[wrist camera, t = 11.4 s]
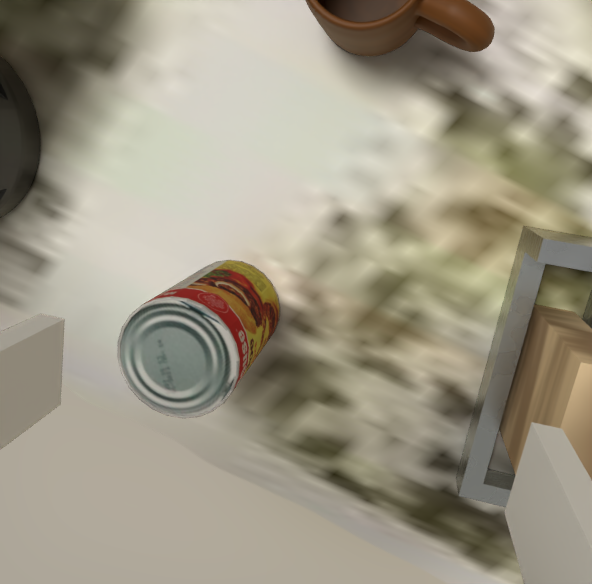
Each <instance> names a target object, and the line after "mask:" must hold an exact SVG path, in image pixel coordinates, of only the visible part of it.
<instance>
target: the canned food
mask: <svg viewBox="0 0 592 584" xmlns="http://www.w3.org/2000/svg"><path fill="white" fill-rule="evenodd" d="M279 312H280V306H279V301H278V295H277V293H276V291H275V289H274V287H273V285H272V283H271V282H270V281H269V279H268V278H267V277H266V276H265V275H264V274H263V273H262V272H261V271H259V270H258V269H257V268H255V267H254V266H252V265H249V264H247V263H244V262H242V261H234V260H225V261H218V262H215V263H213V264H211V265H208V266H206V267H204V268H203V269H201V270H199V271H198V272H196V273H194V274H193V275H191V276H189V277H188V278H186V279H184V280H183V281H181V282H179V283H178V284H176V285H174V286H173V287H171V288H169V289H168V290H166V291H164V292H163V293H161V294H159V295H158V296H156V297H154V298H153V299H151V300H149V301H148V302H146V303H144V304H143V305H141V306H140V307H139V308H138V309H136V310H135V311H134V312H133V313H132V314H131V315H130V316H129V317H128V319H127V321H126V322H125V324H124V325H123V327H122V329H121V333H120V336H119V340H118V361H119V365H120V369H121V373H122V375H123V377H124V379H125V381H126V383H127V384H128V386H129V388H130V389H131V390H132V391H133V393H134V394H135V395H136V396H137V397H138V398H139V400H141V401H142V402H143V403H145V404H146V405H148V406H149V407H150V408H152V409H153V410H156V411H158V412H160V413H163V414H165V415H167V416H173V417H179V418H191V417H199V416H202V415H205V414H207V413H210V412H212V411H214V410H215V409H216V408H218V407H219V406H220V405H222V404H223V403H224V402H225V401H226V400H227V398H228V397H229V396H230V394H231V393H232V391H233V390H234V389H235V387H236V386H237V384H238V383H239V381H240V380H241V379H242V377H243V376H244V374H245V373H246V371H247V370H248V369H249V367H250V366H251V364H252V363H253V361H254V360H255V359H256V357H257V356H258V354H259V353H260V351H261V350H262V349H263V347H264V346H265V344H266V343H267V341H268V340H269V339H270V337H271V336H272V334H273V333H274V331H275V329H276V326H277V324H278V321H279Z"/></svg>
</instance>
